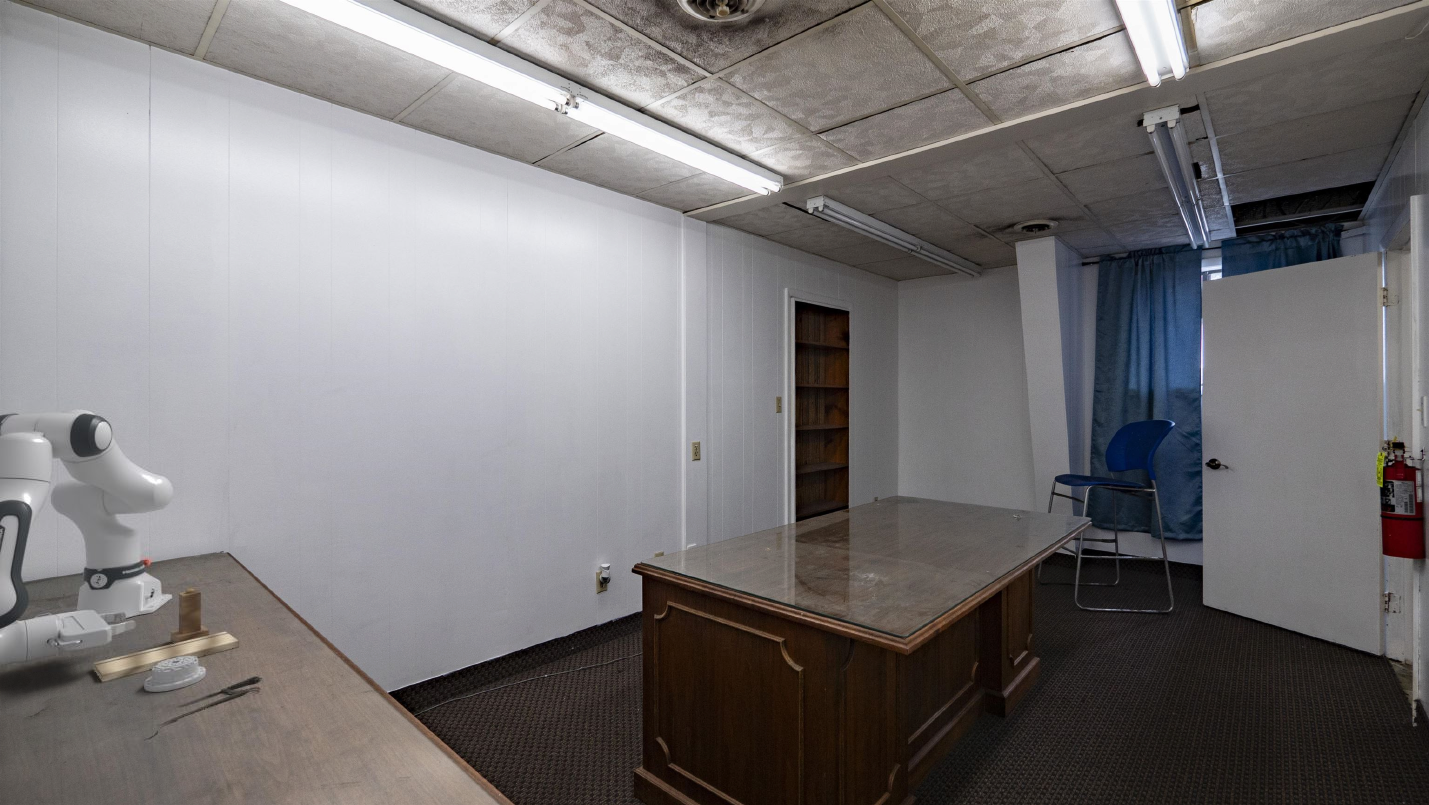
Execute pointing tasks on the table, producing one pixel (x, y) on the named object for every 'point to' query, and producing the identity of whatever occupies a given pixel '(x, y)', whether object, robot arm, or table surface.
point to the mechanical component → (174, 674)
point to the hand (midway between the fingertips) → (129, 619)
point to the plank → (163, 655)
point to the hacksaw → (226, 690)
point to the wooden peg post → (189, 617)
